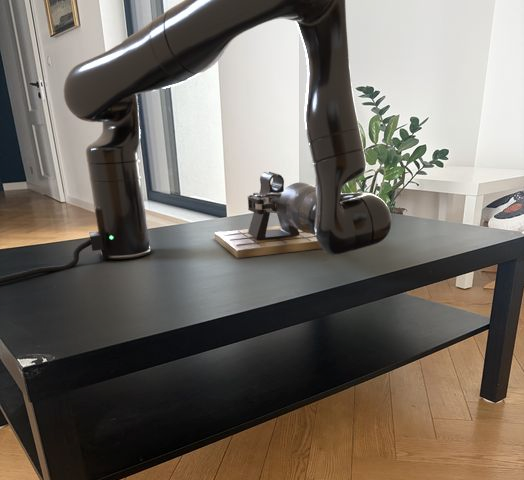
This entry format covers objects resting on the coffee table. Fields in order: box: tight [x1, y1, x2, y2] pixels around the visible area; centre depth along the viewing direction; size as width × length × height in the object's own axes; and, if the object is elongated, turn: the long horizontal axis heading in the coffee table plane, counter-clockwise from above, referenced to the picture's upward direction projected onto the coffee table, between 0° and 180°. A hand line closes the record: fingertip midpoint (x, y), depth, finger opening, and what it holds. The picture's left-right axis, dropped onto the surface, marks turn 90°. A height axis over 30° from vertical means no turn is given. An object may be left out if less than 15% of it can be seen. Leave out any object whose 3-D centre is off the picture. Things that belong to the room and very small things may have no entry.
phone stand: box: [248, 171, 299, 240], centre depth 108 cm, size 9×6×12 cm, turn 107°
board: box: [214, 225, 322, 259], centre depth 111 cm, size 20×18×2 cm
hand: (276, 196), depth 106 cm, fingers open, 8 cm apart
